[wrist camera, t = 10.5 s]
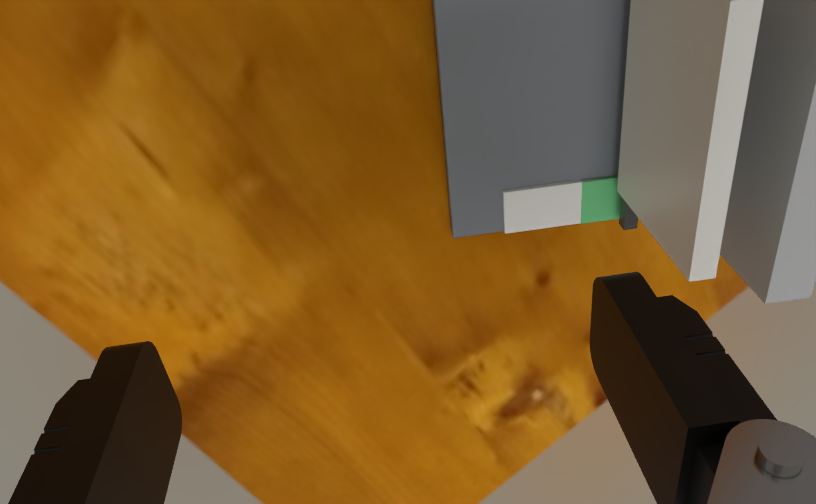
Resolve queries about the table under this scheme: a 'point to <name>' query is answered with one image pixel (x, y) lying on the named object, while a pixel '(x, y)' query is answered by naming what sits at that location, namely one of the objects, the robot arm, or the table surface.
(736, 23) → the panel
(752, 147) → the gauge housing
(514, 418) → the table surface
